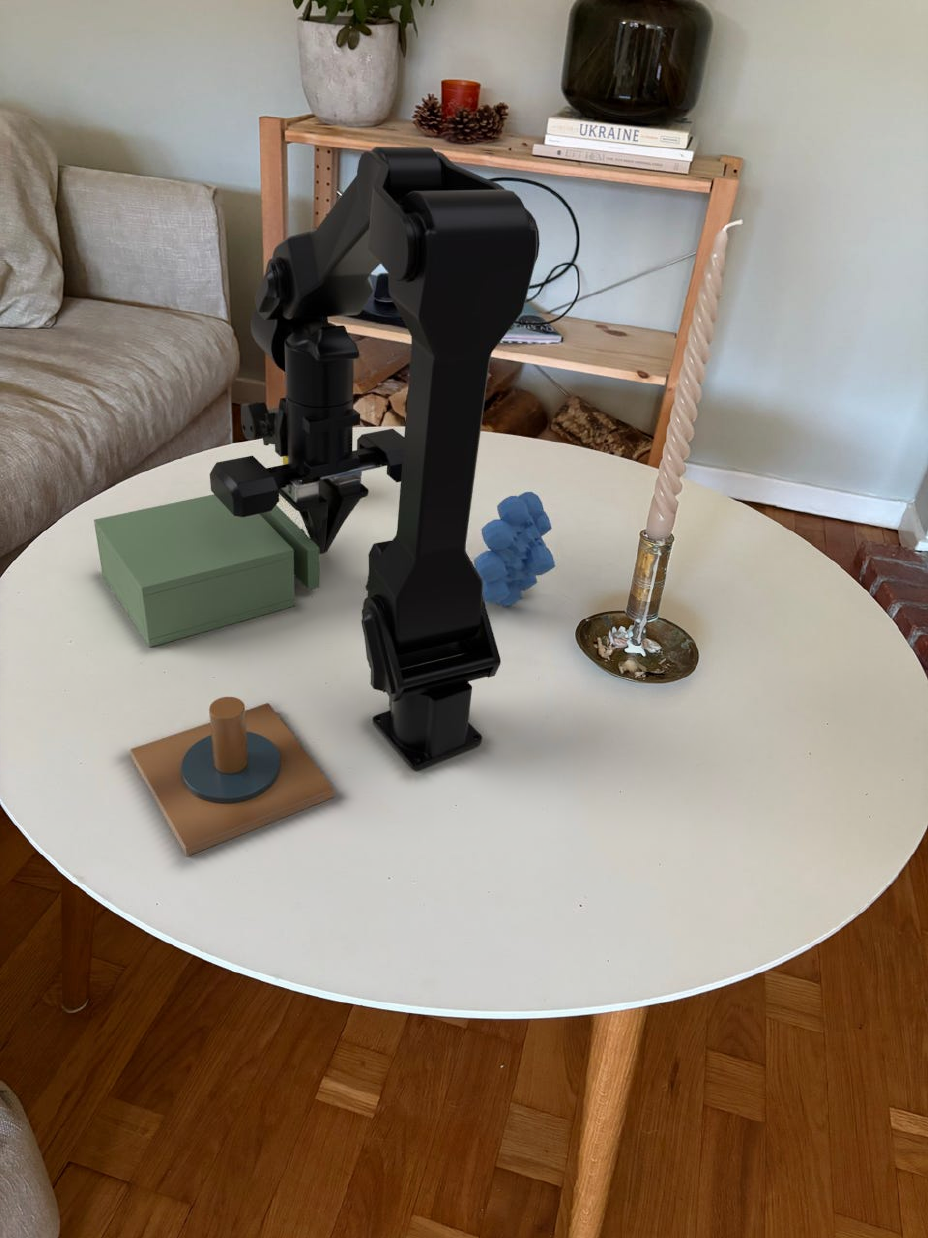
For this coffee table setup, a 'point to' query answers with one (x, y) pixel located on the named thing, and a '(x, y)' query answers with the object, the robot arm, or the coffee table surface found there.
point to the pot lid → (230, 758)
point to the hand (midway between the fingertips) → (320, 551)
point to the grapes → (514, 549)
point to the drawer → (297, 547)
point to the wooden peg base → (222, 821)
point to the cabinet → (193, 567)
